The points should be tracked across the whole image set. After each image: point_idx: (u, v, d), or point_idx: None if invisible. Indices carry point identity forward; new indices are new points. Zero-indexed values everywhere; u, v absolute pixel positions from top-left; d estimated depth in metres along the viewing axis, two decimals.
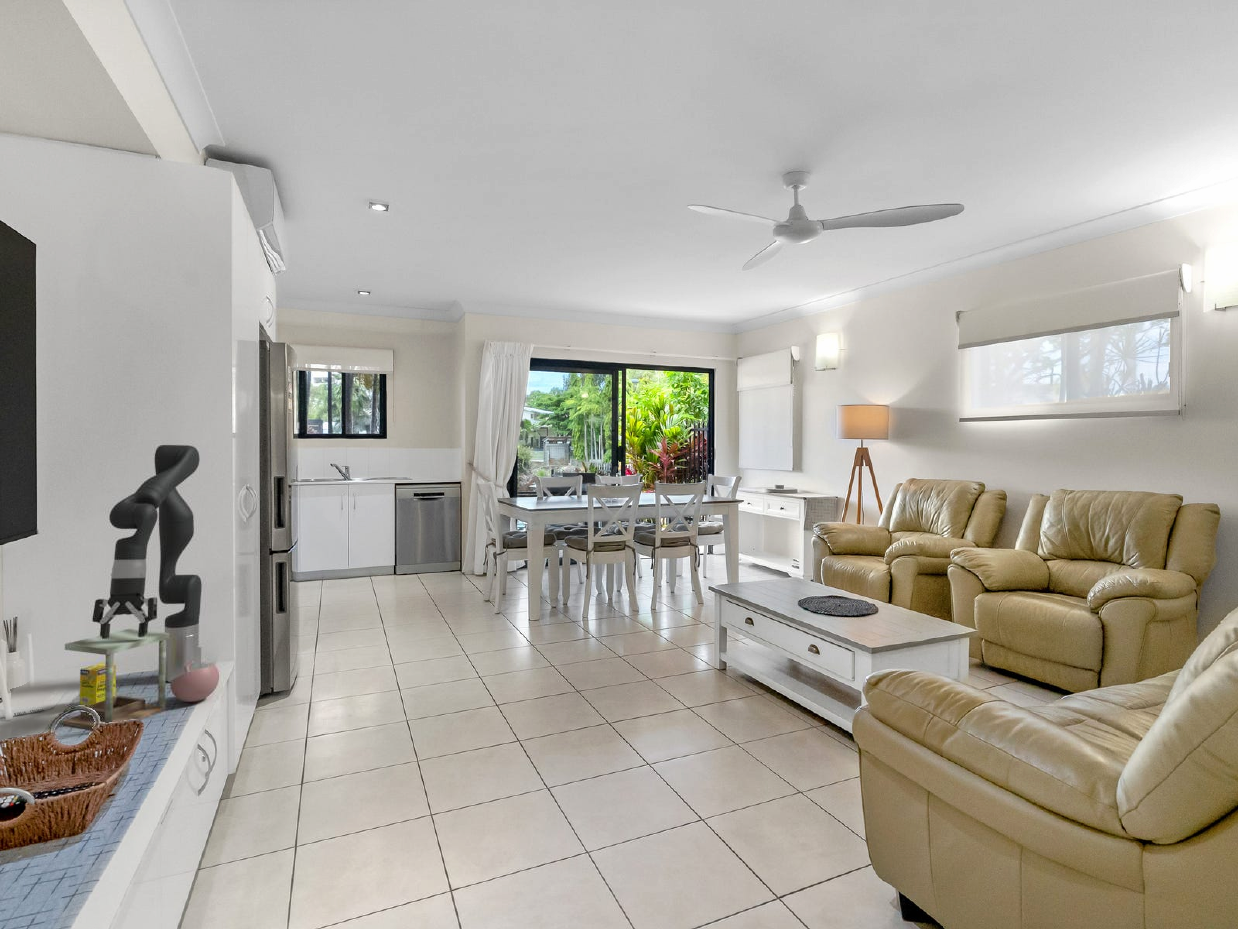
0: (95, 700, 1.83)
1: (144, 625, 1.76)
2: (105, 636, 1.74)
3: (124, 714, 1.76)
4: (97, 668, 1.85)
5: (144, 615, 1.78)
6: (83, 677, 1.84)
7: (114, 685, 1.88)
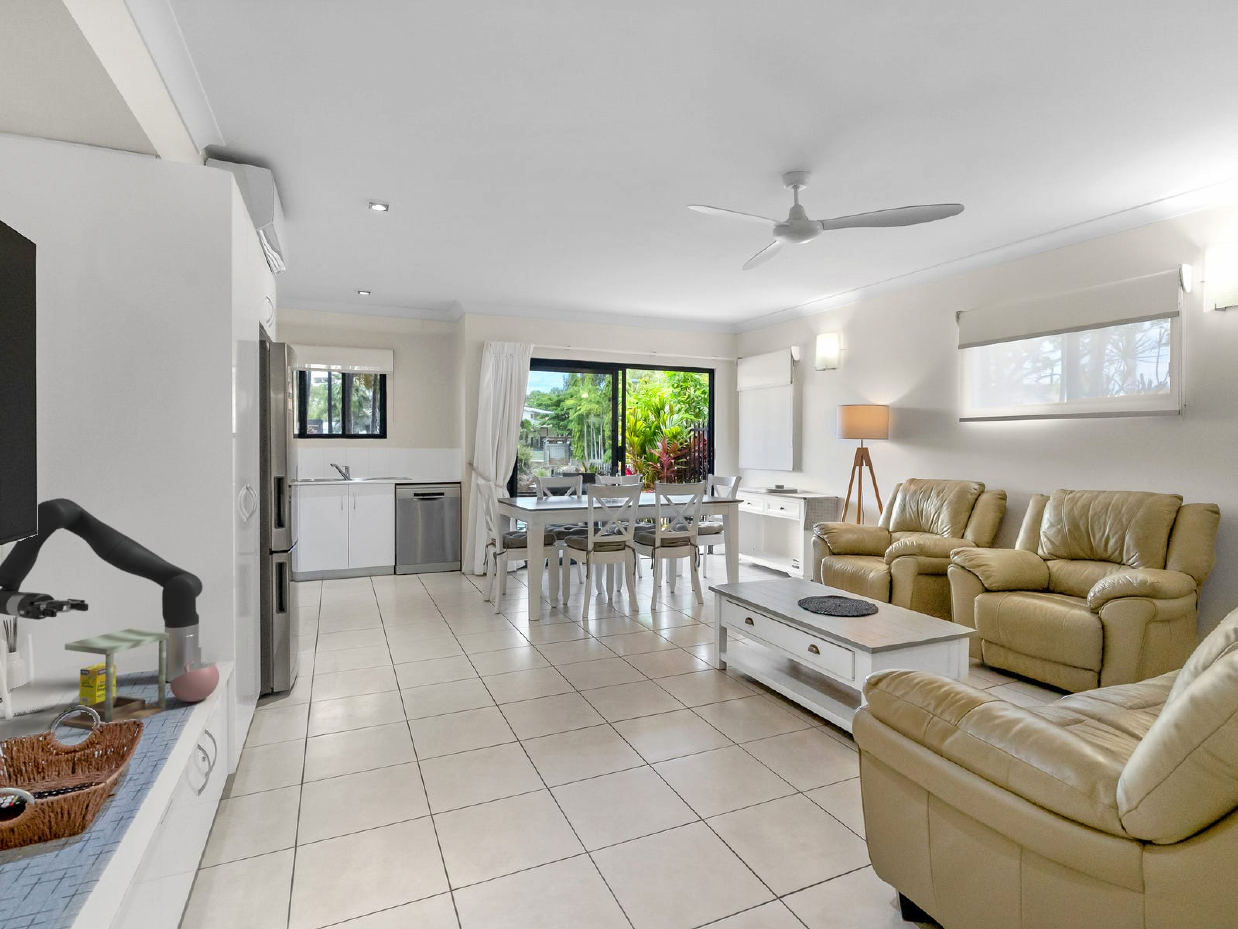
0: (95, 700, 1.83)
1: (44, 615, 1.85)
2: (84, 609, 1.93)
3: (124, 714, 1.76)
4: (97, 668, 1.85)
5: None
6: (83, 677, 1.84)
7: (114, 685, 1.88)
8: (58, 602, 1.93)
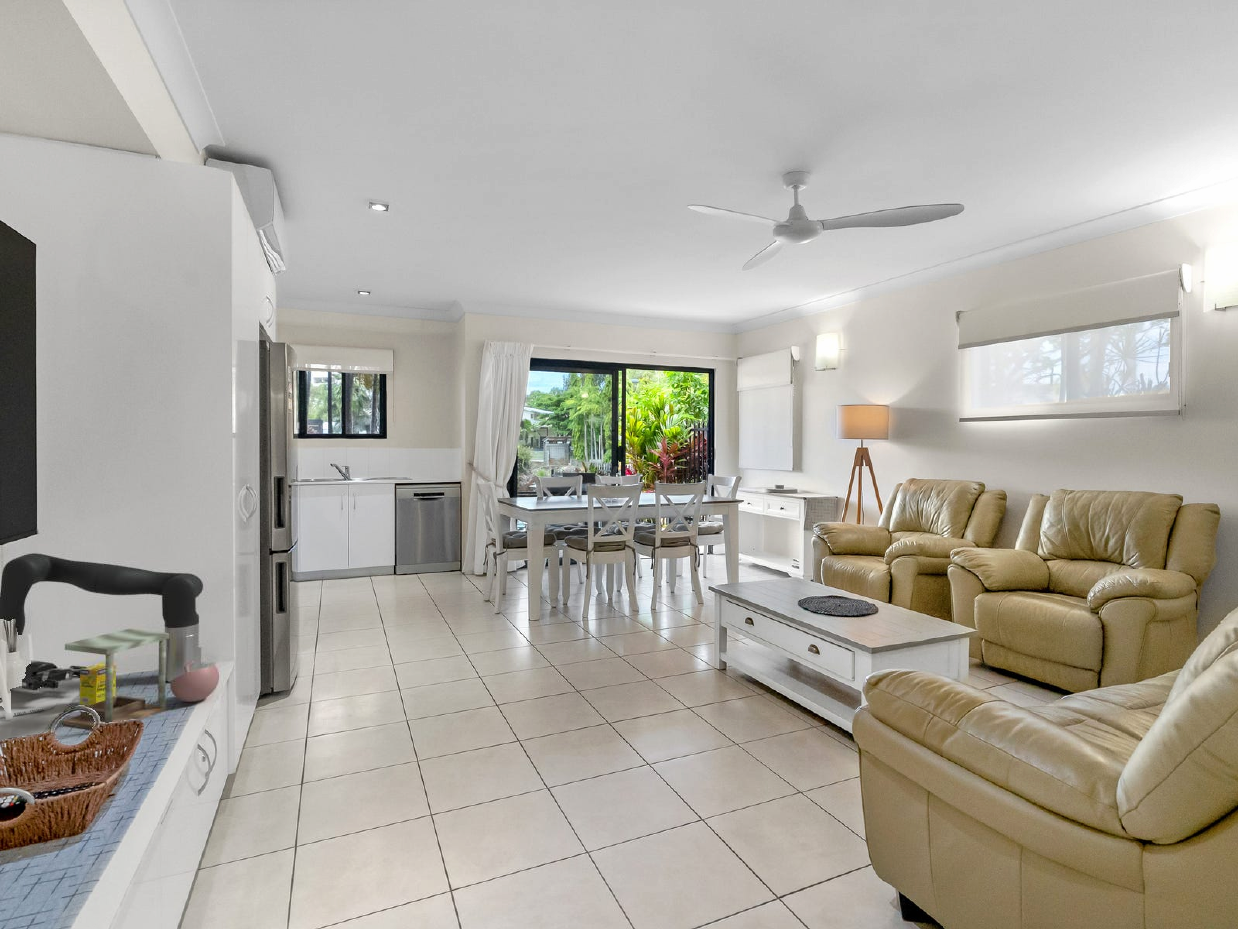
0: (95, 700, 1.83)
1: None
2: None
3: (124, 714, 1.76)
4: (97, 668, 1.85)
5: None
6: (83, 677, 1.84)
7: (114, 685, 1.88)
8: (60, 671, 1.93)
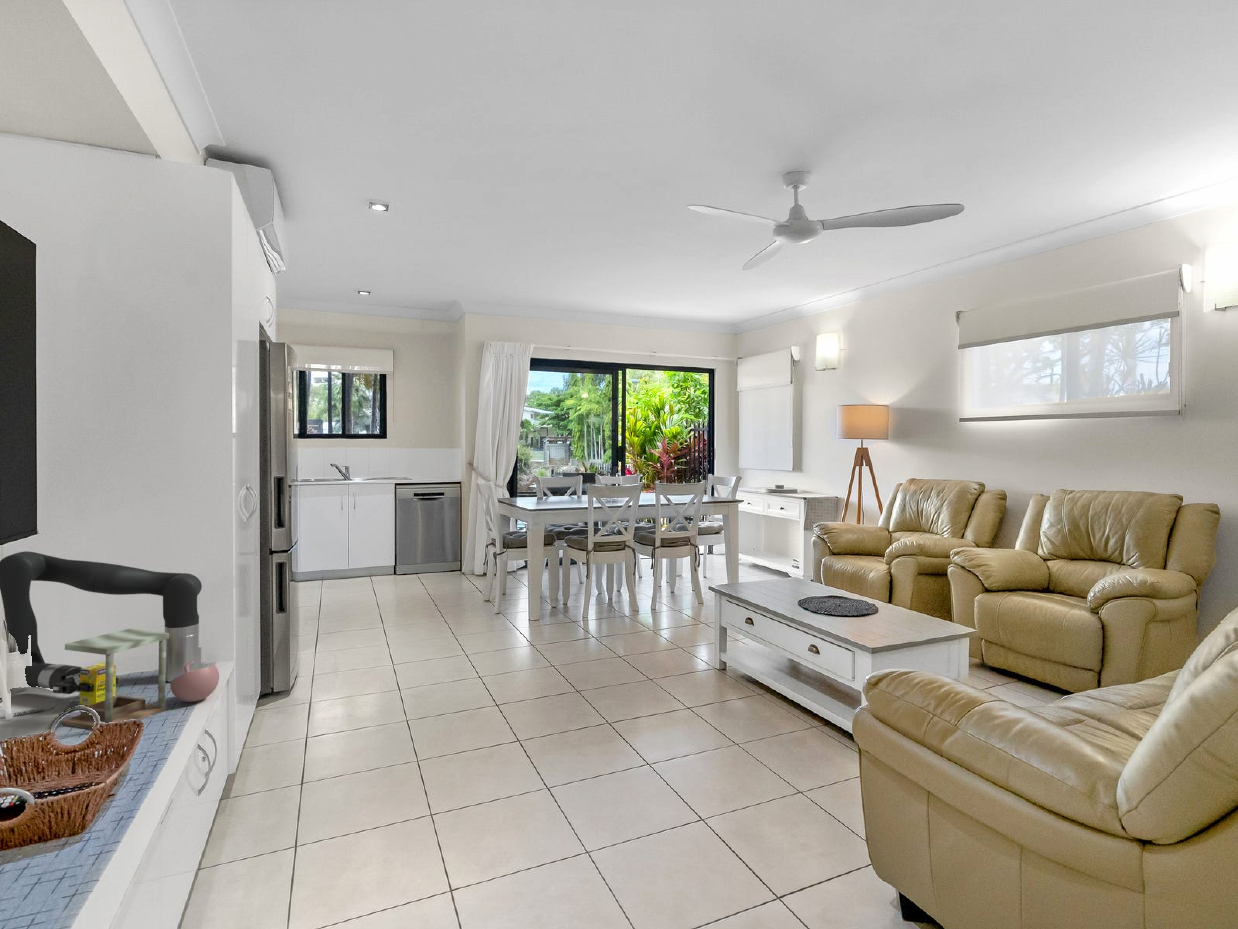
0: (95, 700, 1.83)
1: None
2: None
3: (124, 714, 1.76)
4: (97, 668, 1.85)
5: None
6: (83, 677, 1.84)
7: (114, 685, 1.88)
8: None
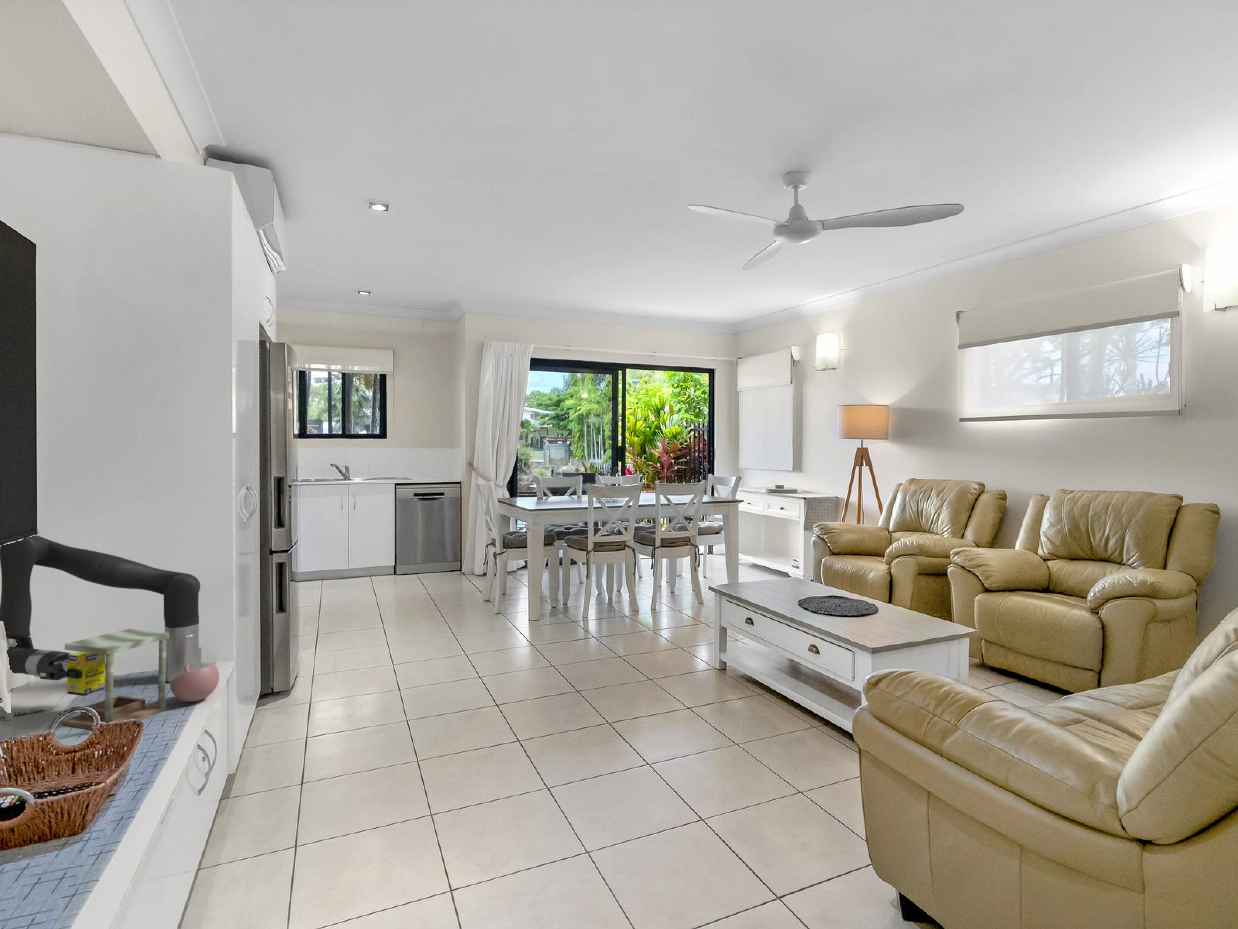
0: (83, 687, 1.77)
1: None
2: None
3: (124, 714, 1.76)
4: (86, 654, 1.79)
5: None
6: (71, 663, 1.78)
7: (103, 672, 1.83)
8: None
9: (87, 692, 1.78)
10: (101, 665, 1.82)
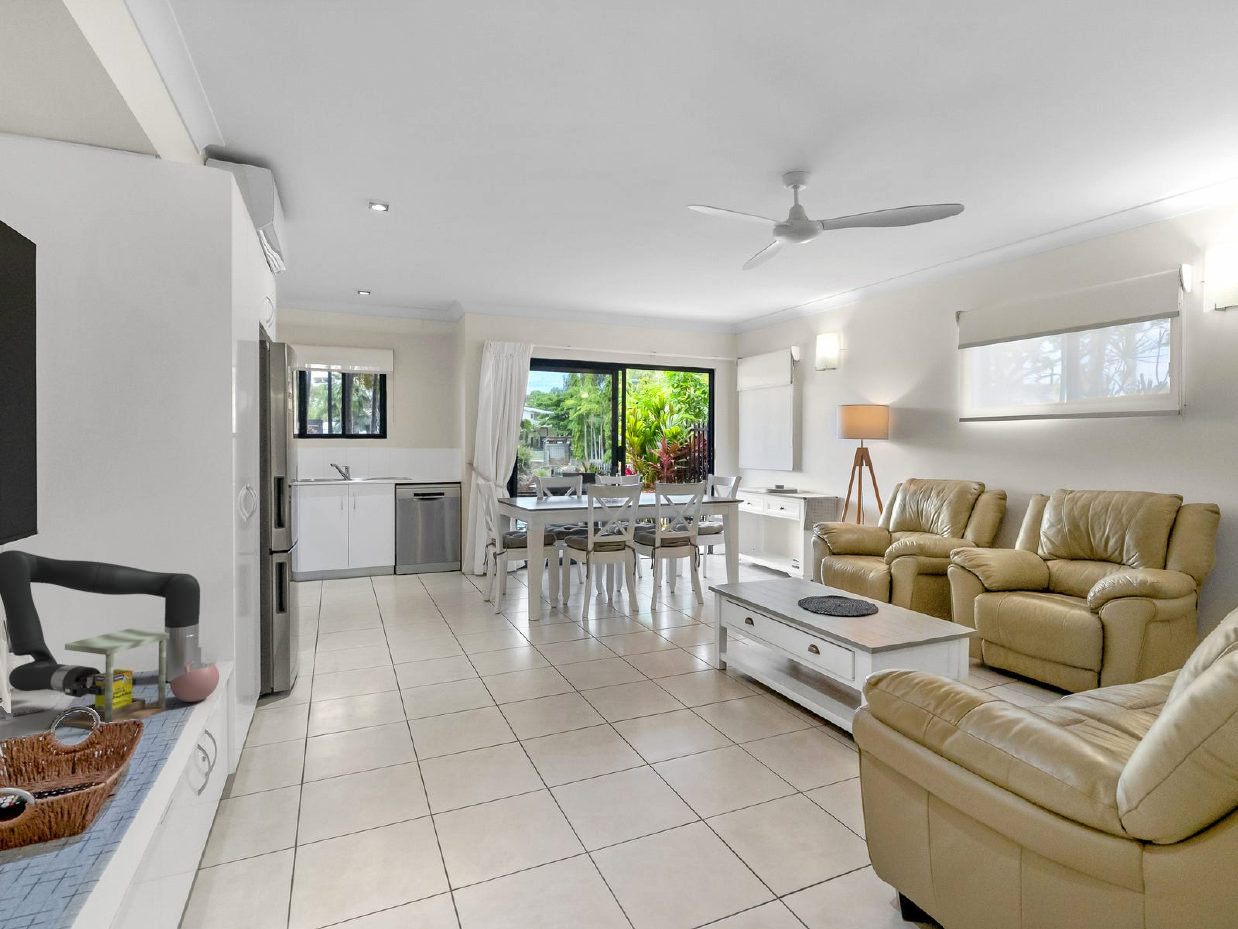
0: None
1: None
2: None
3: (124, 714, 1.76)
4: (113, 674, 1.77)
5: None
6: (98, 684, 1.76)
7: (131, 692, 1.80)
8: None
9: None
10: (128, 685, 1.79)
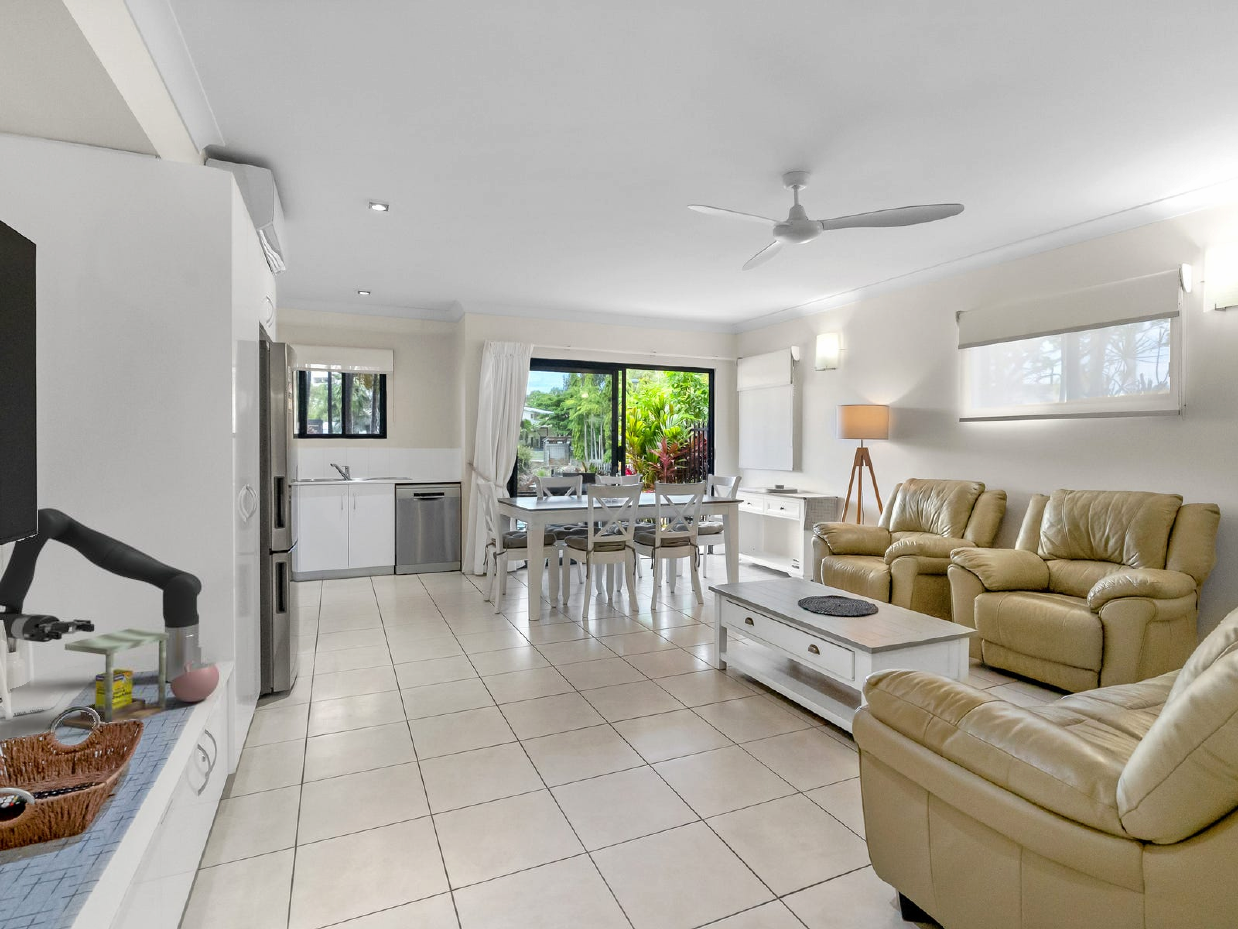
0: None
1: (49, 638, 1.80)
2: (90, 630, 1.88)
3: (124, 714, 1.76)
4: (113, 674, 1.77)
5: None
6: (99, 684, 1.76)
7: (131, 692, 1.80)
8: (63, 623, 1.88)
9: None
10: (128, 685, 1.79)
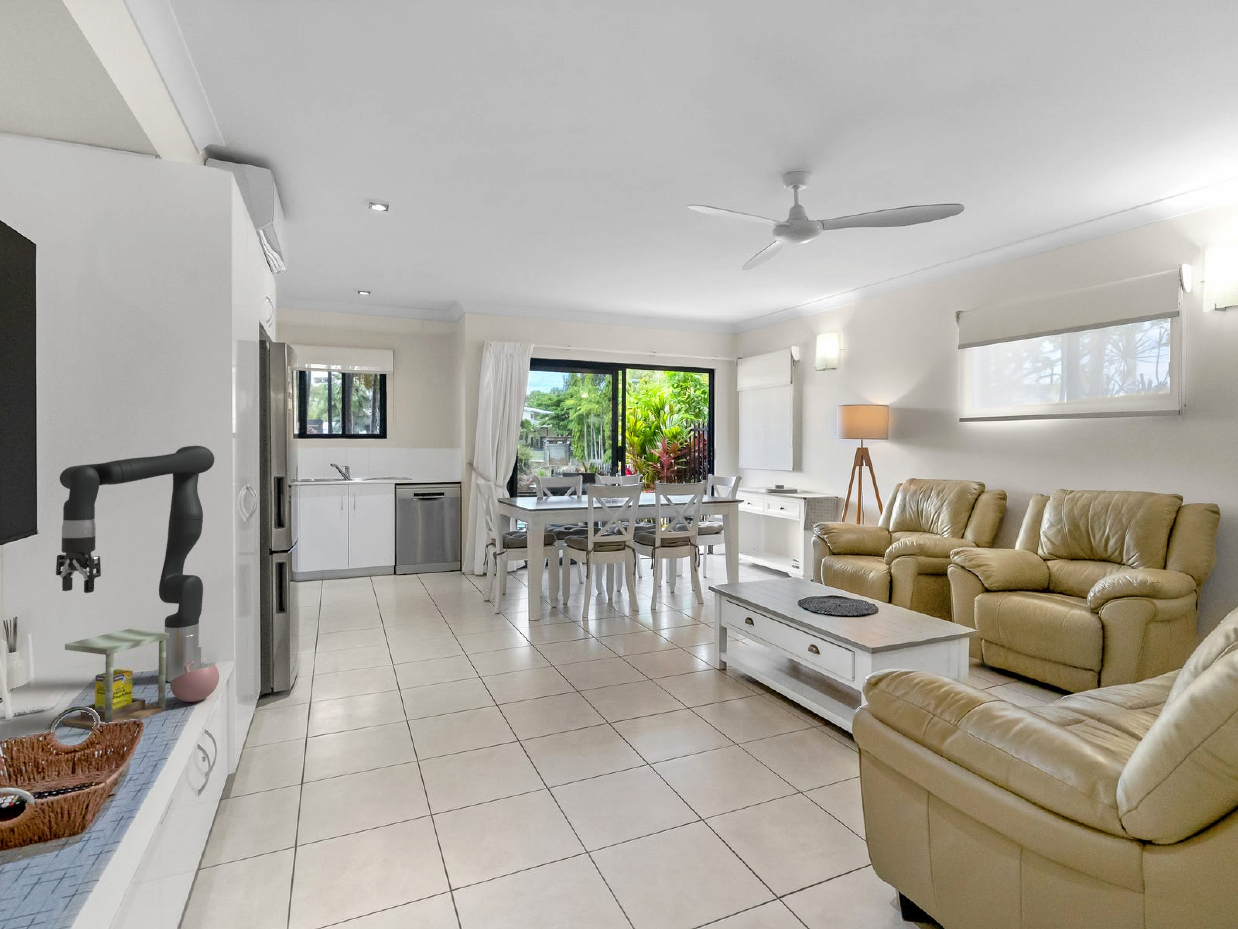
0: None
1: (88, 582, 1.85)
2: (65, 589, 1.88)
3: (124, 714, 1.76)
4: (113, 674, 1.77)
5: None
6: (98, 684, 1.76)
7: (131, 692, 1.80)
8: None
9: None
10: (128, 685, 1.79)
